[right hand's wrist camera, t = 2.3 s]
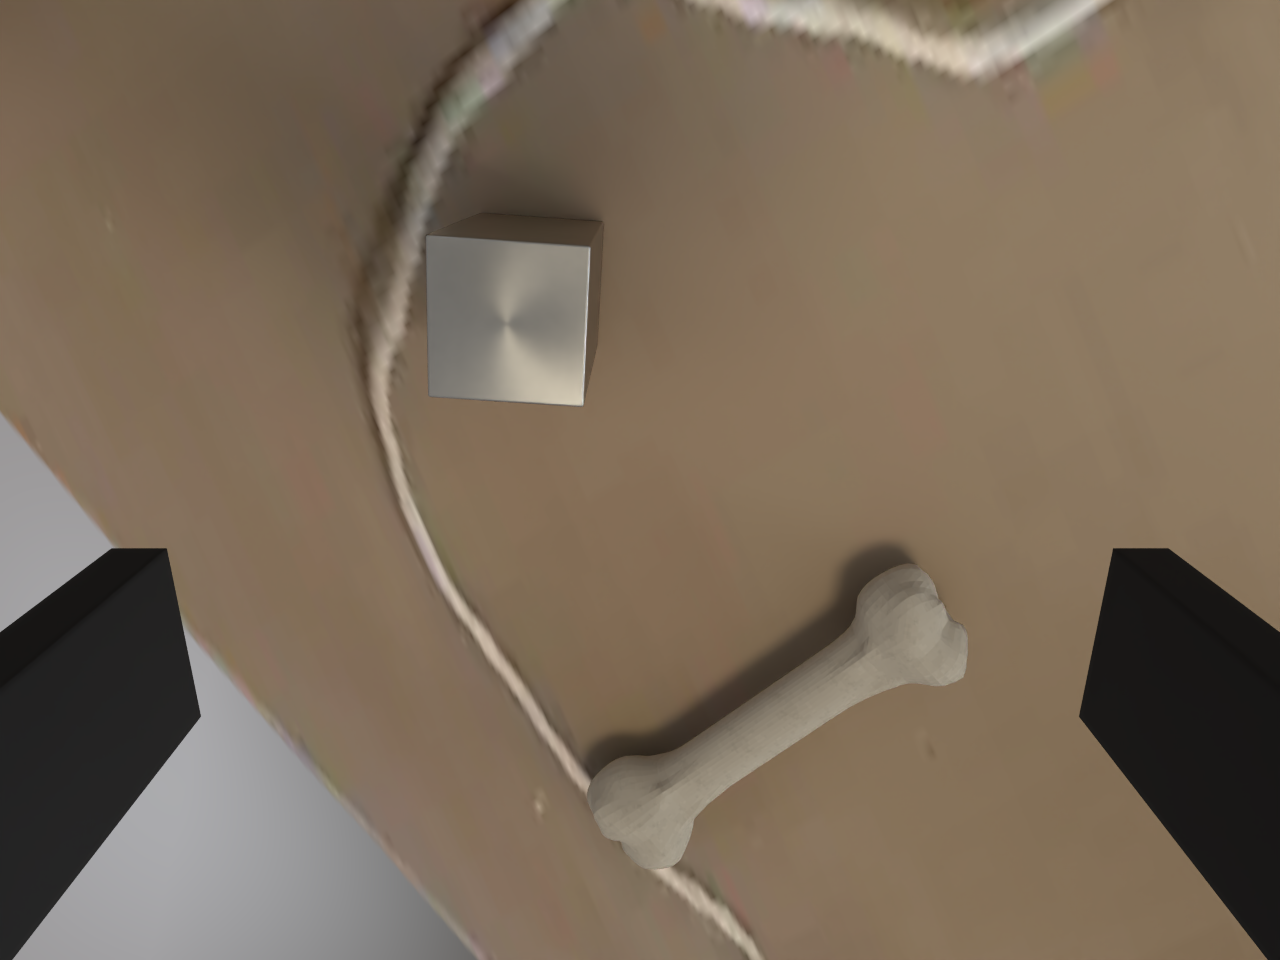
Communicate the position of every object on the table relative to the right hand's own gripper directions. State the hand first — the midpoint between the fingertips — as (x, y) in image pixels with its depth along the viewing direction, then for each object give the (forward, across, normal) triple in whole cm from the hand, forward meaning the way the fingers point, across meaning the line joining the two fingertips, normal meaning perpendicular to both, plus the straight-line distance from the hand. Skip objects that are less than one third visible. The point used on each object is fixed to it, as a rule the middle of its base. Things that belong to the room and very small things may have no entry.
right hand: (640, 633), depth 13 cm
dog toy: (+27, +6, -19) cm, 34 cm away
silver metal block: (+27, -4, +1) cm, 28 cm away
